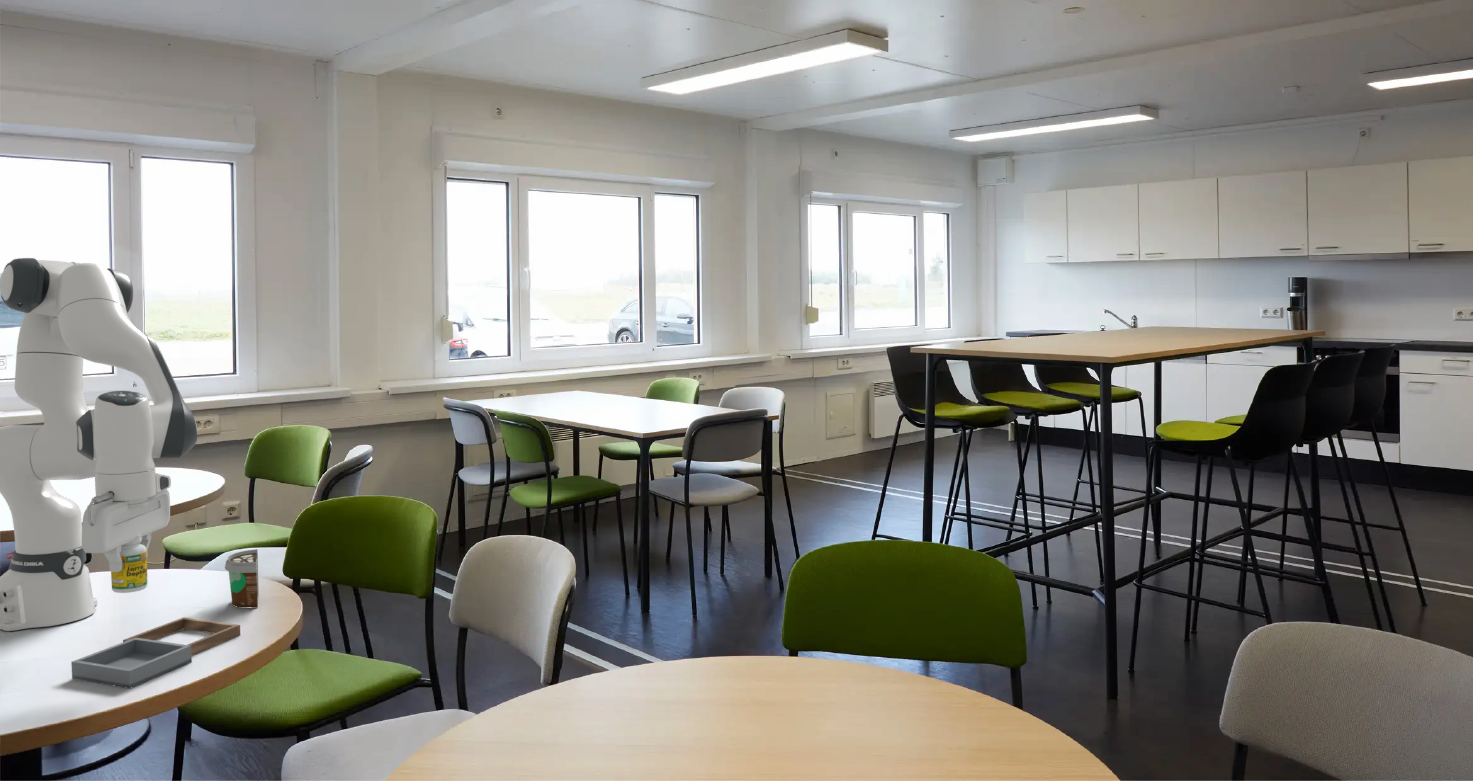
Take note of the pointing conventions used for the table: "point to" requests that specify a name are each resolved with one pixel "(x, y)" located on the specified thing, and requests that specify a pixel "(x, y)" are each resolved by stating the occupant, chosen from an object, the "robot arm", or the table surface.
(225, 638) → the wooden square frame
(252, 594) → the food container
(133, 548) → the supplement bottle
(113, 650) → the tray
